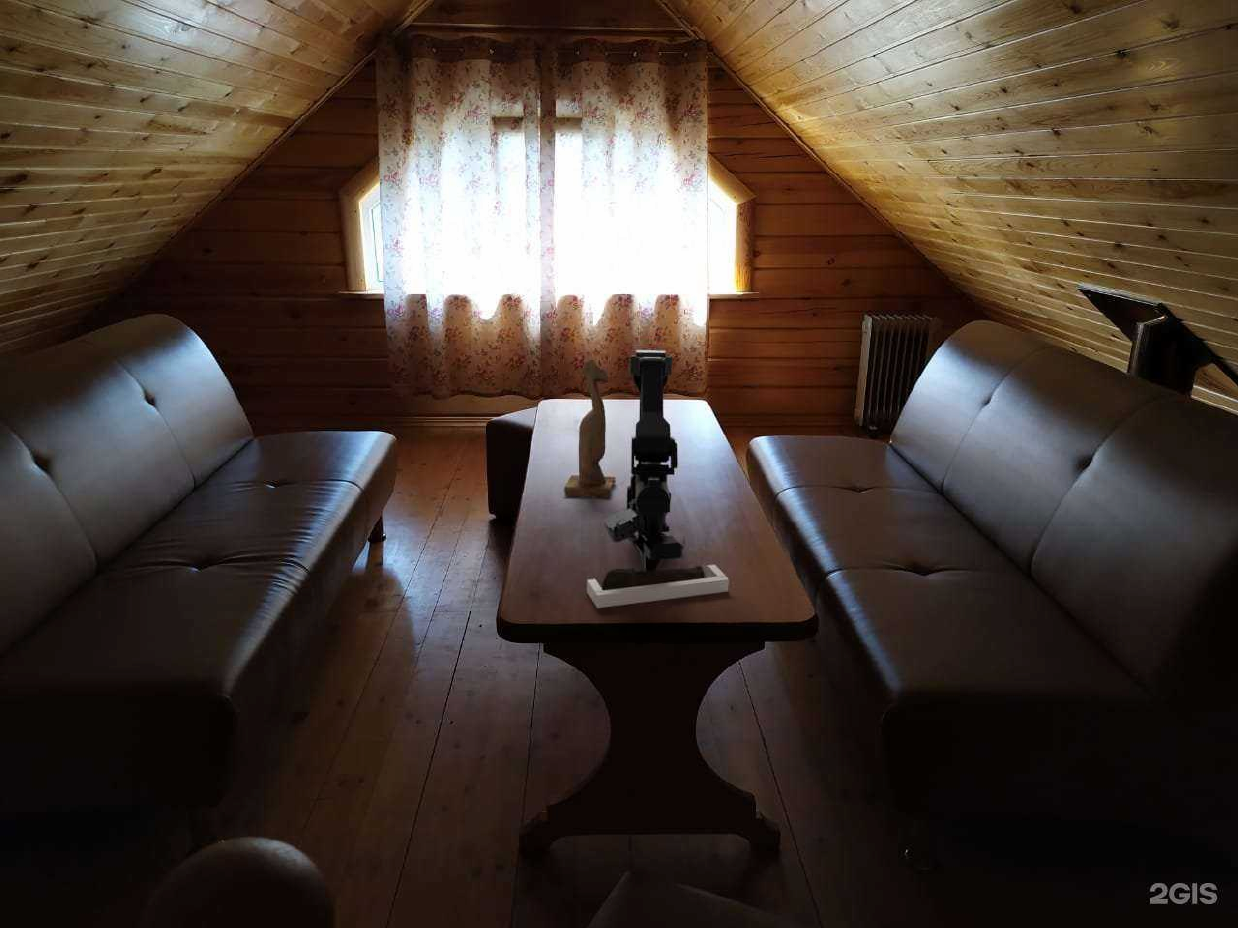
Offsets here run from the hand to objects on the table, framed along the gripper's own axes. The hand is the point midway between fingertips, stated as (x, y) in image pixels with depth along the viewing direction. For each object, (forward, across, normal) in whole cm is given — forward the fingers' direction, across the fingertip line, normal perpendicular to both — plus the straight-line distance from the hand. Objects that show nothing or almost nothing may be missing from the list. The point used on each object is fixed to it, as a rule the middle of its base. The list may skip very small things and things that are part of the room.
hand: (648, 575), depth 165 cm
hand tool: (+1, +5, 0) cm, 5 cm away
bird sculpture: (+1, -51, +3) cm, 51 cm away
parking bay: (+1, +5, 0) cm, 5 cm away
